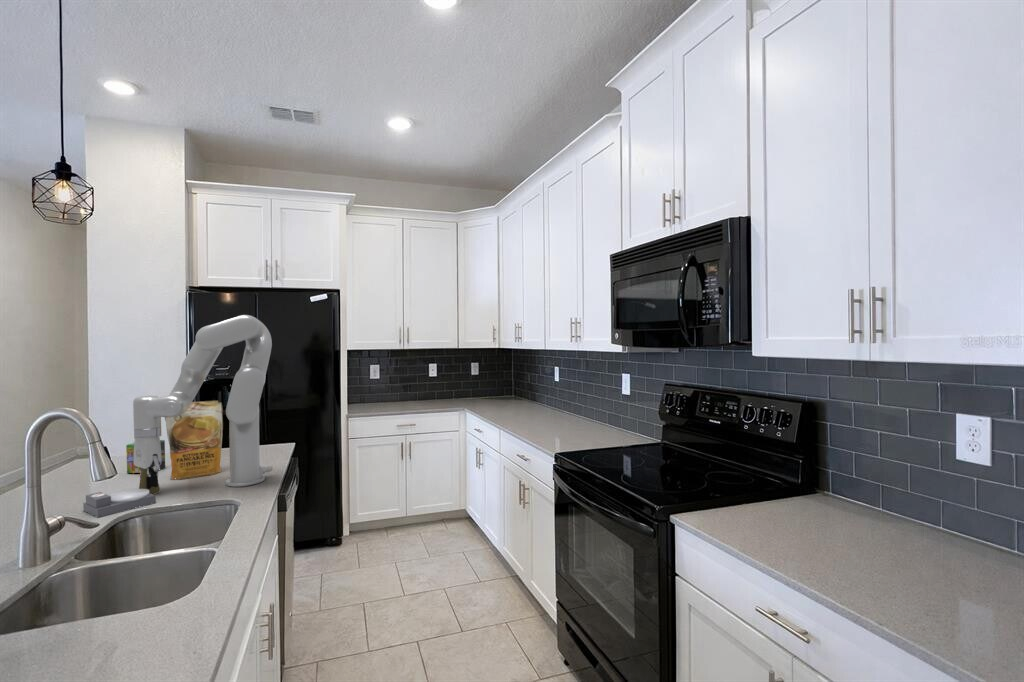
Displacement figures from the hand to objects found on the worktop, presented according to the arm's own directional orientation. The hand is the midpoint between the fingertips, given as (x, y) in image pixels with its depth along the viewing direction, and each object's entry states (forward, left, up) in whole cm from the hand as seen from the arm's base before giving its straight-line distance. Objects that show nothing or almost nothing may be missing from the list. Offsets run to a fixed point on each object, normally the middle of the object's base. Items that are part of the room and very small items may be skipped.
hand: (149, 486), depth 171 cm
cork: (0, 0, -2) cm, 2 cm away
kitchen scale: (+11, +8, -2) cm, 14 cm away
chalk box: (-12, -33, -3) cm, 35 cm away
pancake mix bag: (-19, -9, -2) cm, 21 cm away
